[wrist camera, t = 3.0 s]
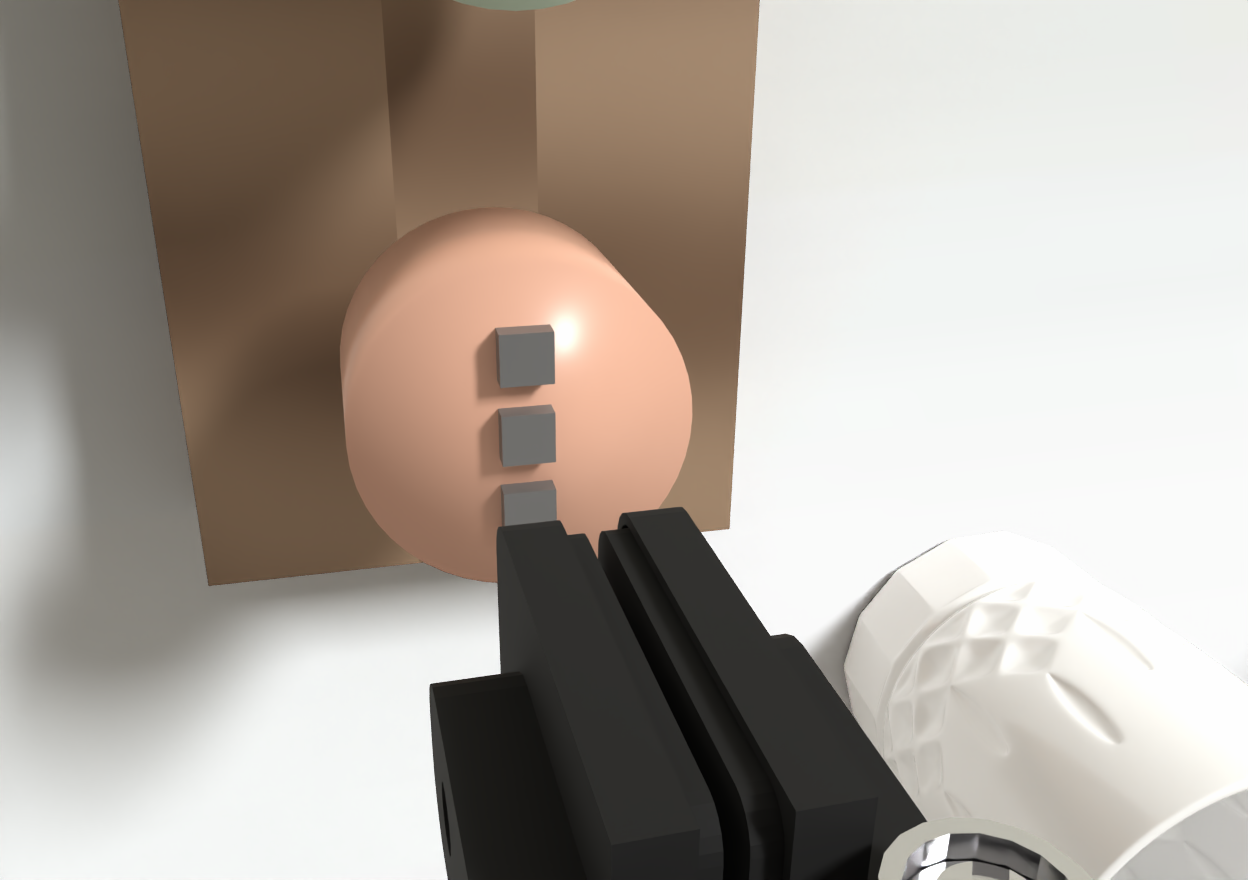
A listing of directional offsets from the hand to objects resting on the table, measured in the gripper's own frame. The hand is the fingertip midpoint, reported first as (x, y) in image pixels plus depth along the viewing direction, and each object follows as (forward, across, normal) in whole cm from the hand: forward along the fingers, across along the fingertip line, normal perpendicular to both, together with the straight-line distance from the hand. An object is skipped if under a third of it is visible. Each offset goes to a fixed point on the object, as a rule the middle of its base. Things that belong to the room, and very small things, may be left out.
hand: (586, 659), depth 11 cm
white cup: (+14, -13, +11) cm, 22 cm away
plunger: (+11, 0, 0) cm, 12 cm away
